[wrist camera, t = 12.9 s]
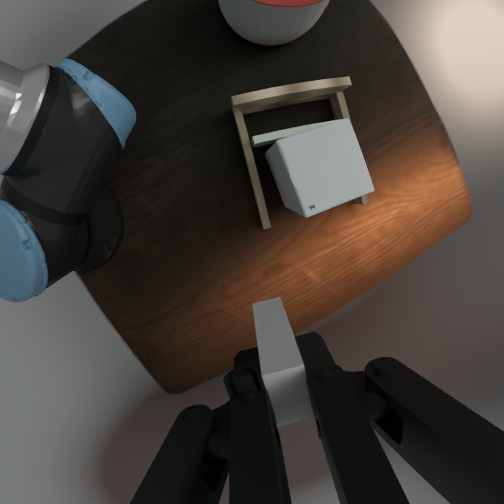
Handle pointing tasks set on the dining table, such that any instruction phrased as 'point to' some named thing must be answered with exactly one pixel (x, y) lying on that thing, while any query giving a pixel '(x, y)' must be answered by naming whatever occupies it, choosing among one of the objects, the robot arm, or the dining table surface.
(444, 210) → the dining table surface
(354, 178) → the supplement box
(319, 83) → the pusher lane
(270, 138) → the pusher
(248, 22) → the citrus juicer
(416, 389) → the robot arm
